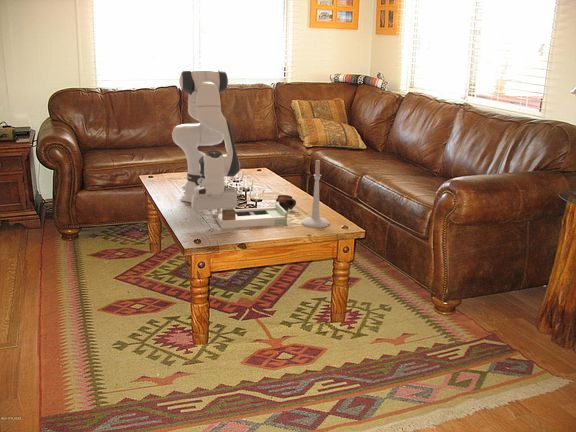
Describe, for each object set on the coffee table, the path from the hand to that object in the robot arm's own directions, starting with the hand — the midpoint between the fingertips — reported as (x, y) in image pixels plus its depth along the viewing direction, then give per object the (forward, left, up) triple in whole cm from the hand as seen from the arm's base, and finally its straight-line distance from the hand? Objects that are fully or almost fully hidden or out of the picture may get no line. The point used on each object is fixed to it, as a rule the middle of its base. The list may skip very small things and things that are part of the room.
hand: (214, 218), depth 276 cm
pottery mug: (-18, +39, -4) cm, 43 cm away
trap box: (-3, +17, -4) cm, 18 cm away
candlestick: (+7, +45, -4) cm, 46 cm away
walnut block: (0, +6, -1) cm, 6 cm away
